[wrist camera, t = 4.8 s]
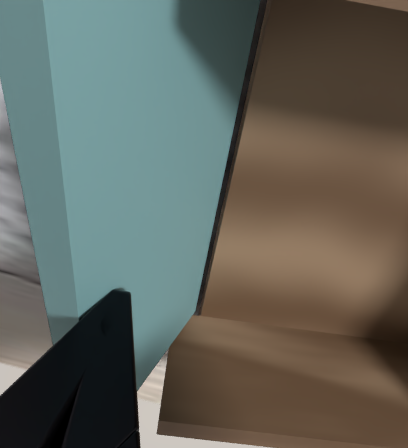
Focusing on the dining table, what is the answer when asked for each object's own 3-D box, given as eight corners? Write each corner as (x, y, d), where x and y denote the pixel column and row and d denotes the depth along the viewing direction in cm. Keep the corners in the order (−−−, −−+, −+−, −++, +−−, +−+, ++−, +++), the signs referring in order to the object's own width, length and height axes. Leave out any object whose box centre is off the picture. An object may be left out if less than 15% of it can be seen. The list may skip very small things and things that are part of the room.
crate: (414, 343, 19) (477, 470, 14) (174, 311, 18) (156, 434, 14) (712, 5, 10) (1205, 49, 5) (234, -89, 9) (247, -148, 4)
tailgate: (195, 311, 17) (93, 451, 12) (177, 301, 17) (70, 434, 12) (262, -9, 9) (41, -19, 4) (227, -16, 9) (-22, -33, 4)
